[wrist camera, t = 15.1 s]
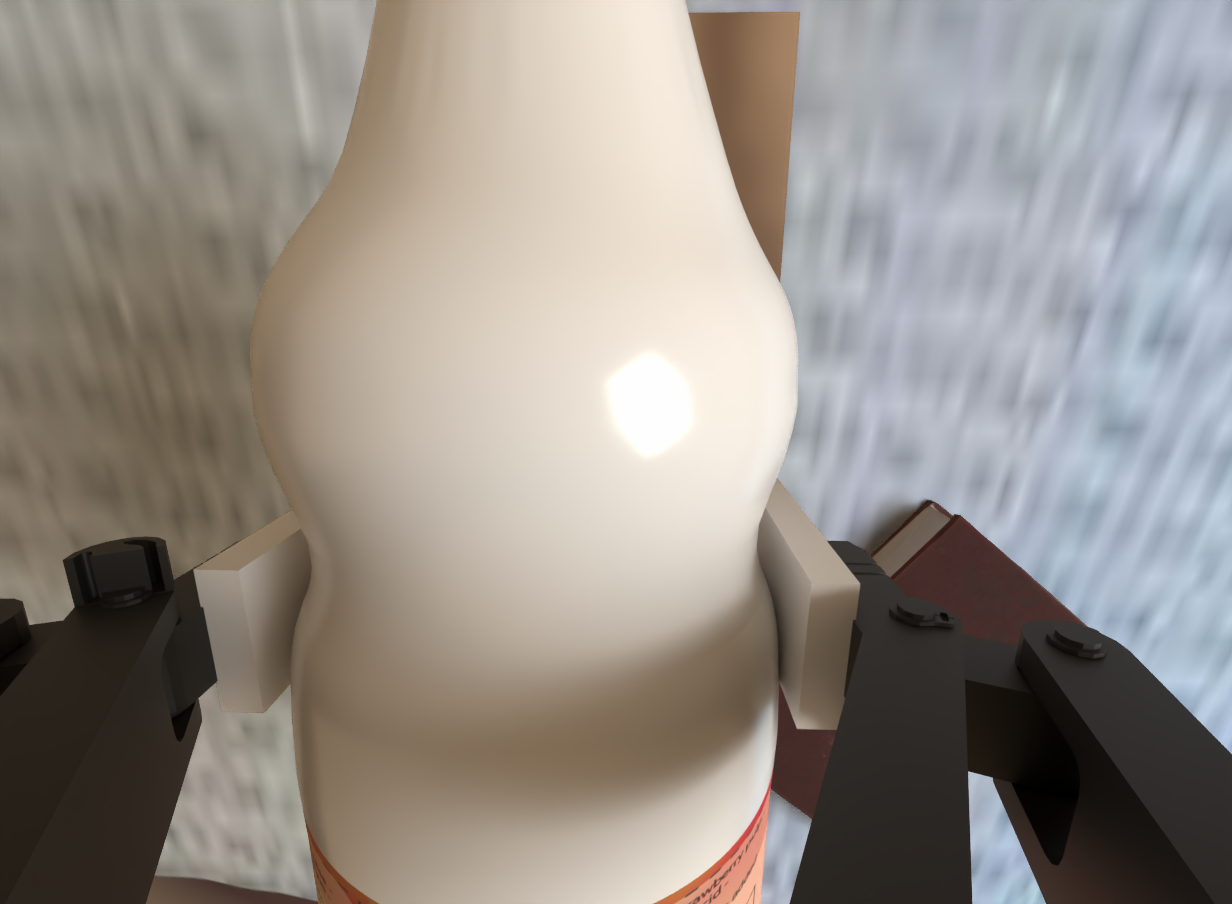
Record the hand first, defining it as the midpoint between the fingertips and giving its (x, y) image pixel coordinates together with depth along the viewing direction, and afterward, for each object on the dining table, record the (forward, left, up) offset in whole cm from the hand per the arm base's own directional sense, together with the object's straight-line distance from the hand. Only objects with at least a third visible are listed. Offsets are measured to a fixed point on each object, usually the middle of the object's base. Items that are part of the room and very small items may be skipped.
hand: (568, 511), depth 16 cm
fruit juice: (0, -15, +4) cm, 16 cm away
